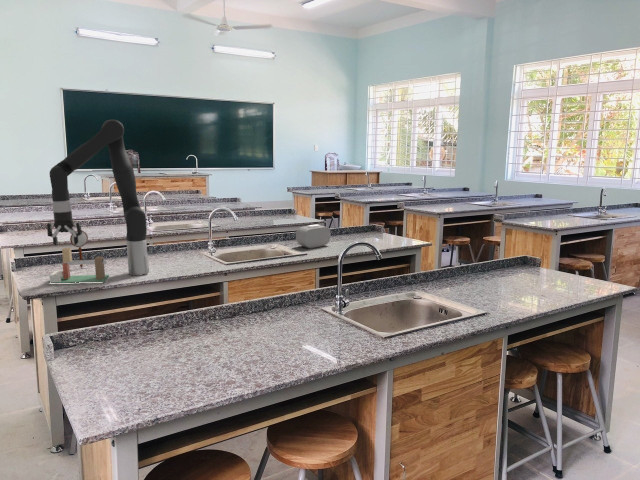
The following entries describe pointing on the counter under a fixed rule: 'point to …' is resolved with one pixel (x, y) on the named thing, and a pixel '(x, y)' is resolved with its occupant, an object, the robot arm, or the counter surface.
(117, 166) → the robot arm
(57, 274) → the ball
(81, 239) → the magnifying glass
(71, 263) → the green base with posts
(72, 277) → the pitch
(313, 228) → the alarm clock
